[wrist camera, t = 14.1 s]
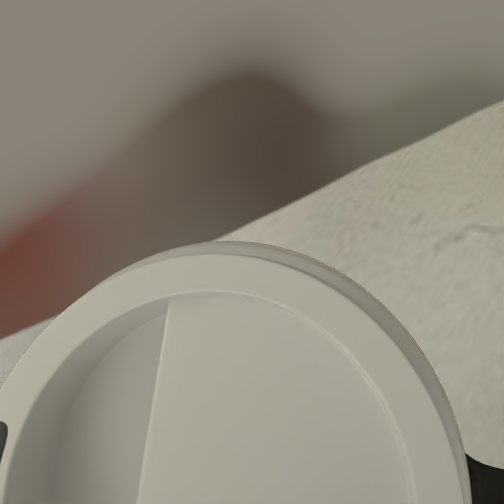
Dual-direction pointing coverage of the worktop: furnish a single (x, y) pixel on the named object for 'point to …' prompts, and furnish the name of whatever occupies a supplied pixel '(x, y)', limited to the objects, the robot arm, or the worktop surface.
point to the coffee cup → (228, 392)
